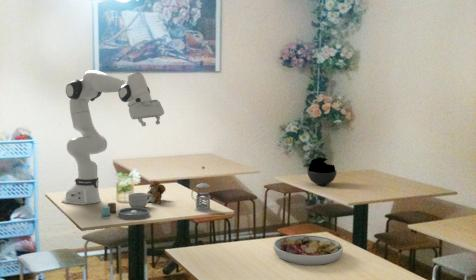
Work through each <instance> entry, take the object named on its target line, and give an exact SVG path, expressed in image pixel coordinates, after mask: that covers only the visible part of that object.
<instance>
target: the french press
mask: <svg viewBox="0 0 476 280" xmlns="http://www.w3.org/2000/svg"><path fill="white" fill-rule="evenodd" d="M205 167H206V166H201V169H202V170H204V169H206V168H205ZM210 187H211V185H210V184H208V183H206V182H201V183H198V184H196V186H195V188H193V189H192V190H191V192H190V193H191V199H192V200H194V201H195V208H194V211H196V212H200V213H201V212H202V213H205V212H211V211H212V208H211V206H210V205H211V195H210V192H209V191H198V188H199V189H209V188H210ZM194 190H195V191H197V192H196V196H195V197H196V198H194V195H193V192H194Z"/></svg>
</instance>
